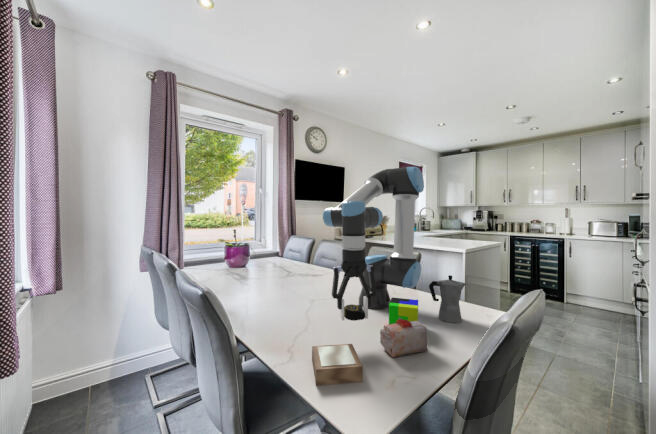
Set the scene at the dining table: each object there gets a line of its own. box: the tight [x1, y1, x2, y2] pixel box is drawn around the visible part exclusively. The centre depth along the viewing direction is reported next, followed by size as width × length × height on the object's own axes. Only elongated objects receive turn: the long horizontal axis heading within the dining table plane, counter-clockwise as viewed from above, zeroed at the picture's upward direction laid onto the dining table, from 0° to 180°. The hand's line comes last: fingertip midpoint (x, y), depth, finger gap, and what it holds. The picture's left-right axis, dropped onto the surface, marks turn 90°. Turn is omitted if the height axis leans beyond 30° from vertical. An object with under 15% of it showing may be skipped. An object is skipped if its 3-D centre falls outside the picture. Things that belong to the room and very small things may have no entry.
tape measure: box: [344, 303, 366, 322], centre depth 88 cm, size 7×7×4 cm
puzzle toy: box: [388, 297, 419, 325], centre depth 101 cm, size 10×10×10 cm
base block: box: [311, 343, 364, 386], centre depth 74 cm, size 12×12×4 cm
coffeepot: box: [428, 274, 467, 324], centre depth 111 cm, size 15×9×18 cm, turn 92°
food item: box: [379, 317, 429, 358], centre depth 85 cm, size 14×8×10 cm, turn 108°
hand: (354, 317), depth 88 cm, fingers closed on tape measure, 7 cm apart
